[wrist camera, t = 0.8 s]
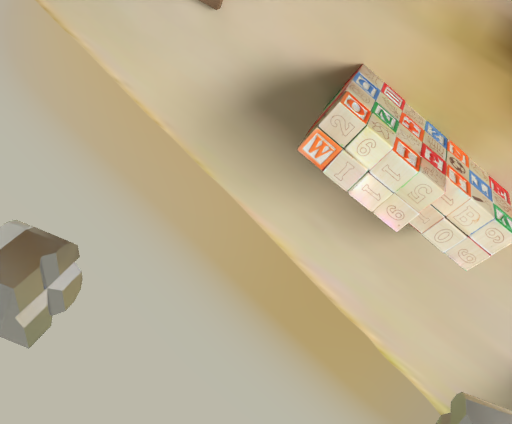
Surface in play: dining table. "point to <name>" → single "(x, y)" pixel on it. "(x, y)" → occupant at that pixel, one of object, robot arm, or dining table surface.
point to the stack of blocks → (408, 171)
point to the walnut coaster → (213, 3)
